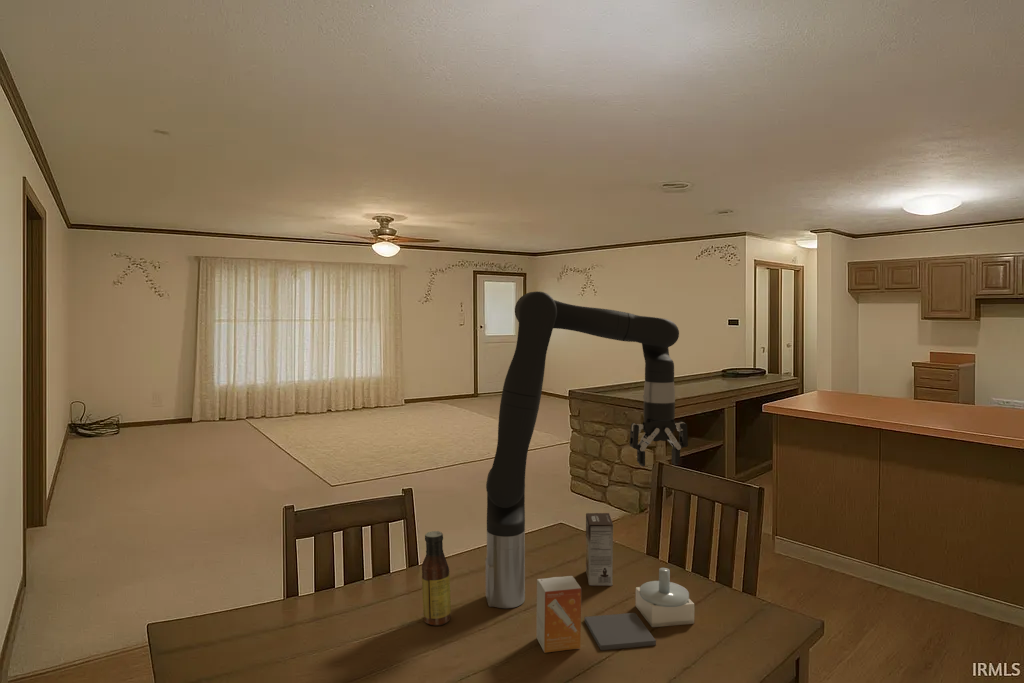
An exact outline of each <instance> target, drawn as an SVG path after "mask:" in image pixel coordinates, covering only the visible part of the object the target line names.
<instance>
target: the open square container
mask: <svg viewBox="0 0 1024 683" xmlns="http://www.w3.org/2000/svg"><path fill="white" fill-rule="evenodd" d="M640 587H641V586H637V587H635V608H637V610H638V611H639V612H640V614H641V615H642V616H643V618H644V619H645V620H646V621H647V623H648V624H649V625H650V627H651V628H659V627H660V628H662V627H671V626H680V625H681V626H682V625H683V626H684V625H694V624H695V603H694V602H693V601H692V600H691V599H690V598H689V601H688V602H687V603H686V604H684V605H681V606H677V607H663V606H658V605H654V604H651V603H649V602H647V601H645V600H644V599H643V598H642V597H641V596H640Z"/></svg>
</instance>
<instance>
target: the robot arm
mask: <svg viewBox="0 0 1024 683" xmlns="http://www.w3.org/2000/svg"><path fill="white" fill-rule="evenodd" d="M514 315H515V318H516V320H517V322H518V331H517V341H516V345H515V350H514V353H513V356H512V359H511V361H510V364H509V366H508V369H507V373H506V376H505V379H504V383H503V385H502V386H503V387H502V393H501V398H500V403H499V404H500V406H499V413H498V425H497V426H498V427H497V444H496V451H495V455H494V459H493V463H492V466H491V469H490V470H489V471H488V474H487V477H486V485H485V489H486V497H487V498H486V501H487V502H486V504H487V505H486V509H487V510H486V557H485V597H486V602H487V605H488V607H495V608H498V609H513V608H516V607H519V606H521V605H523V603H525V600H526V586H525V585H526V580H525V579H526V566H525V565H526V557H525V556H526V546H525V545H526V544H525V542H526V540H525V537H526V534H525V532H526V525H525V524H526V510H525V509H526V506H525V505H526V504H525V499H526V498H525V497H526V495H525V494H526V493H525V491H526V489H525V488H526V467H527V459H528V451H529V447H530V444H531V440H532V437H533V433H534V429H535V427H536V422H537V418H538V413H539V409H540V403H541V400H542V399H541V398H542V392H543V384H544V377H545V369H546V368H545V367H546V358H547V354H548V352H547V351H548V348H549V344H550V341H551V340H550V339H551V336H552V333H553V330H554V329H558V330H559V329H560V330H566V331H573V332H579V333H582V334H587V335H590V336H596V337H600V338H603V339H609V340H614V341H621V342H627V343H628V342H629V343H639V344H641V347H642V348H641V349H642V354H643V357H644V386H643V387H644V388H643V395H642V398H643V422H642V424H641V423H640V424H639V423H637V424H636V423H634V422H632V423H630V432H629V433H630V434H629V447H631V448H632V449H633V450H634V449H635V450H636V461H637V463H638V464H639V466H640V467H645V466H646V451H645V450H646V449H647V447H648V446H649V445H651V443H652V441H653V442H660V441H662V442H668V443H669V444H670V445H671V446H672V448H671V464H672V465H674V466H678V464H679V463H680V461H681V450H682V449H683V448H687V447H688V446H689V440H688V436H689V434H688V424H687V423H685V422H684V421H678V422H676V421H675V418H676V413H675V412H676V389H675V388H676V386H675V363H674V361H673V359H672V358H671V357H670V350H669V347H672V346H673V345H675V344H676V343H677V342H678V341H679V338H680V330H679V327H678V326H677V324H676V322H674V321H672V320H671V319H668V318H661V317H655V316H645V315H638V314H634V313H630V312H626V311H620V310H614V309H609V308H608V309H607V308H600V307H592V306H591V307H590V306H589V307H588V306H581V305H576V304H575V305H574V304H569V303H565V302H561V301H559V300H556V299H554V298H553V297H552V296H551V295H550V294H549V293H546V292H544V291H529V292H526V293H525V294H523V295H522V296H520V297H519V299H518V300H517V301H516V303H515V306H514ZM675 430H676V431H677V432H678V440H677V438H676V437H675V434H674V432H675ZM641 431H643V432H644V434H642V436H641V438H640V440H639V435H640V433H641Z"/></svg>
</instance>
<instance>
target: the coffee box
mask: <svg viewBox="0 0 1024 683" xmlns="http://www.w3.org/2000/svg"><path fill="white" fill-rule="evenodd" d="M613 554H614V524H613V520H612V517H611V515H610V512H594V513H593V512H592V513H591V512H590V513H589V512H587V513H586V514H585V572H586V573H585V574H586V576H587V581H588V582H587V583H588V585H589V586H609V587H610V586H613V584H614V583H613V581H614V579H613V576H614V575H613V572H614V571H613V570H614V569H613V566H614V565H613V563H614V562H613V561H614V560H613V559H614V555H613Z"/></svg>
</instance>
